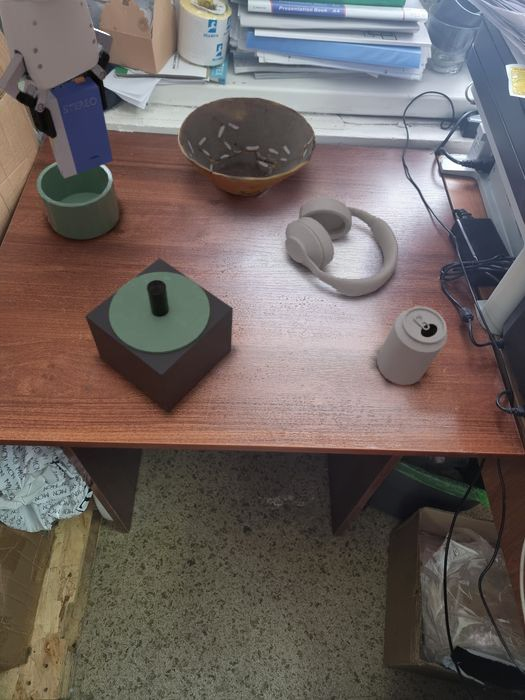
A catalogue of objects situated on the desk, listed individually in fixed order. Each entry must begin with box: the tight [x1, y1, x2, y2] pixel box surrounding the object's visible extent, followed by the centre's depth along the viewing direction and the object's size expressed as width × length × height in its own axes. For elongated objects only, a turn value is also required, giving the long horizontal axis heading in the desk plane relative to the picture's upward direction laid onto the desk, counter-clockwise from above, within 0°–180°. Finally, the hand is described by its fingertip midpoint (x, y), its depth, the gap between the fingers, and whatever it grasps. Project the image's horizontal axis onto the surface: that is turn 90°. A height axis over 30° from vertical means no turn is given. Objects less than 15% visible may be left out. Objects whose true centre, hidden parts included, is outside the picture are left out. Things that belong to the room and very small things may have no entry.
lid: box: [109, 272, 210, 354], centre depth 66 cm, size 13×13×5 cm
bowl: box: [177, 96, 317, 197], centre depth 97 cm, size 25×25×10 cm
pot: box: [36, 161, 120, 240], centre depth 89 cm, size 12×12×8 cm
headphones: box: [284, 196, 399, 297], centre depth 89 cm, size 18×8×20 cm
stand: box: [84, 257, 234, 413], centre depth 73 cm, size 14×14×11 cm
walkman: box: [34, 76, 114, 178], centre depth 71 cm, size 8×3×12 cm, turn 126°
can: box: [376, 305, 448, 386], centre depth 75 cm, size 8×8×12 cm
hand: (73, 118), depth 69 cm, fingers closed on walkman, 8 cm apart
